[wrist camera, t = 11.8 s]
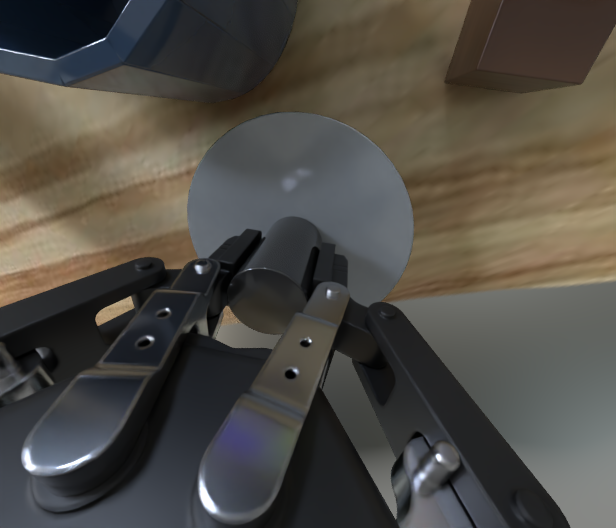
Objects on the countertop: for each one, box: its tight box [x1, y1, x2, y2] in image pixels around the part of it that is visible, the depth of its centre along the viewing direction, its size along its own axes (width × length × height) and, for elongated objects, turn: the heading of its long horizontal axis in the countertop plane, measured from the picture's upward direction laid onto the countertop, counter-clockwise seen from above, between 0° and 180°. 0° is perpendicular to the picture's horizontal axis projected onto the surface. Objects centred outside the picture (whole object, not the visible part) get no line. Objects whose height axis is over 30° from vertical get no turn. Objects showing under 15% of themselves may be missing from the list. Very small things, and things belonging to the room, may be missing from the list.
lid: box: [187, 112, 414, 335], centre depth 12 cm, size 13×13×7 cm
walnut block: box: [444, 0, 616, 93], centre depth 11 cm, size 4×4×4 cm
